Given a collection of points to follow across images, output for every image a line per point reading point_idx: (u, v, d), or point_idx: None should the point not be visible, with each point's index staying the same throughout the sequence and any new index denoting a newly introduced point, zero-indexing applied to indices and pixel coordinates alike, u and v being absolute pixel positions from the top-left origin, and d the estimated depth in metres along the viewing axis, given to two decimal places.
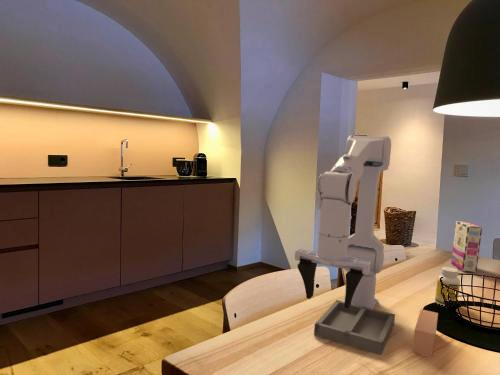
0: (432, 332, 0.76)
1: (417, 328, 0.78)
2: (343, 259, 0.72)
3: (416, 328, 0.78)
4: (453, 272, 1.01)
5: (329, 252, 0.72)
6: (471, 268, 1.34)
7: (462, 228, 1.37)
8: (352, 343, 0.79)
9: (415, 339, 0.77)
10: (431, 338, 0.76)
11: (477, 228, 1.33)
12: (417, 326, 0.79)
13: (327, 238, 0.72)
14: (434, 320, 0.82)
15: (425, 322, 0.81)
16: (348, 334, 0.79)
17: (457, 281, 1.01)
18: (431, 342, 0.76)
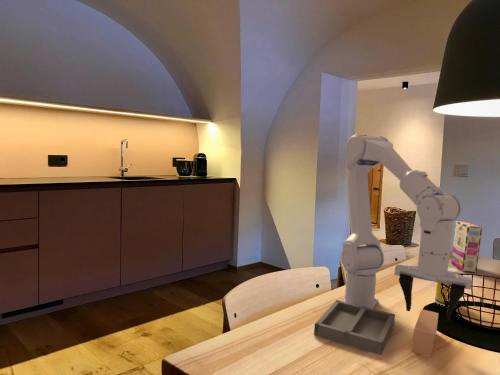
0: (431, 332, 0.76)
1: (417, 328, 0.78)
2: (446, 275, 0.78)
3: (415, 328, 0.78)
4: (453, 272, 1.01)
5: (434, 269, 0.78)
6: (471, 268, 1.34)
7: (462, 228, 1.37)
8: (352, 343, 0.79)
9: (414, 339, 0.77)
10: (430, 338, 0.76)
11: (477, 228, 1.33)
12: (417, 326, 0.79)
13: (431, 256, 0.78)
14: (434, 320, 0.82)
15: (425, 322, 0.81)
16: (348, 334, 0.79)
17: None
18: (430, 342, 0.76)
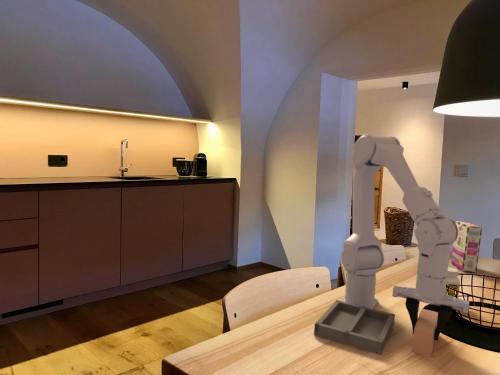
0: (432, 331, 0.76)
1: (417, 327, 0.78)
2: (443, 298, 0.79)
3: (416, 327, 0.78)
4: (453, 272, 1.01)
5: (431, 292, 0.78)
6: (471, 268, 1.34)
7: (462, 228, 1.37)
8: (352, 343, 0.79)
9: (415, 338, 0.77)
10: (431, 337, 0.76)
11: (477, 228, 1.33)
12: (417, 325, 0.79)
13: (429, 279, 0.78)
14: (434, 319, 0.82)
15: (425, 321, 0.81)
16: (348, 334, 0.79)
17: (457, 281, 1.01)
18: (431, 341, 0.76)
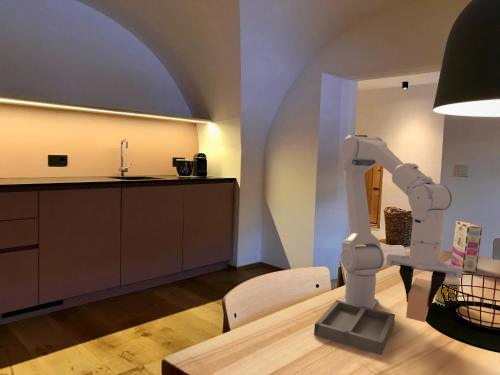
0: (426, 296, 0.76)
1: (411, 293, 0.77)
2: (437, 264, 0.78)
3: (410, 293, 0.77)
4: None
5: (425, 258, 0.78)
6: (471, 268, 1.34)
7: (462, 228, 1.37)
8: (352, 343, 0.79)
9: (409, 304, 0.77)
10: (425, 302, 0.75)
11: (477, 228, 1.33)
12: (411, 291, 0.78)
13: (423, 245, 0.78)
14: (428, 286, 0.82)
15: (419, 288, 0.80)
16: (348, 334, 0.79)
17: (457, 281, 1.01)
18: (425, 306, 0.76)
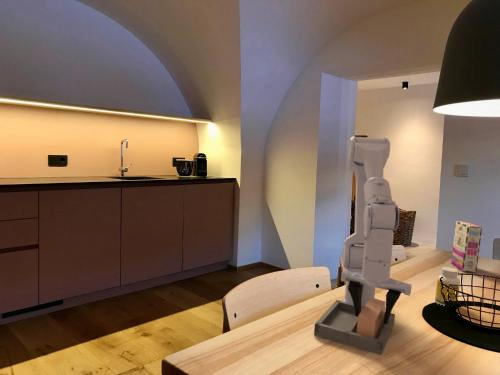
0: (374, 318, 0.79)
1: (361, 315, 0.80)
2: (387, 281, 0.81)
3: (360, 315, 0.80)
4: (453, 272, 1.01)
5: (375, 275, 0.81)
6: (471, 268, 1.34)
7: (462, 228, 1.37)
8: (352, 343, 0.79)
9: (359, 326, 0.80)
10: (373, 324, 0.78)
11: (477, 228, 1.33)
12: (361, 313, 0.81)
13: (373, 263, 0.81)
14: (379, 308, 0.84)
15: (370, 309, 0.83)
16: (348, 334, 0.79)
17: (457, 281, 1.01)
18: (373, 328, 0.78)
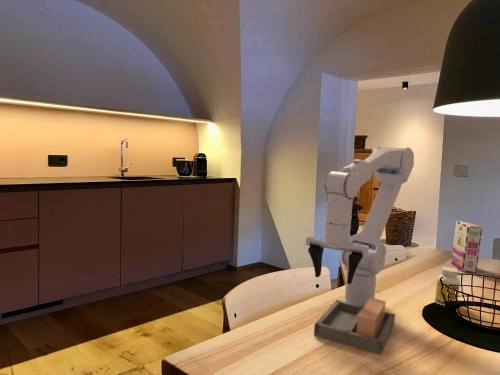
0: (374, 318, 0.79)
1: (361, 315, 0.80)
2: (346, 243, 0.88)
3: (360, 315, 0.80)
4: (453, 272, 1.01)
5: (335, 237, 0.87)
6: (471, 268, 1.34)
7: (462, 228, 1.37)
8: (352, 343, 0.79)
9: (359, 326, 0.80)
10: (373, 324, 0.78)
11: (477, 228, 1.33)
12: (361, 313, 0.81)
13: (333, 226, 0.87)
14: (379, 308, 0.84)
15: (370, 309, 0.83)
16: (348, 334, 0.79)
17: (457, 281, 1.01)
18: (373, 328, 0.78)
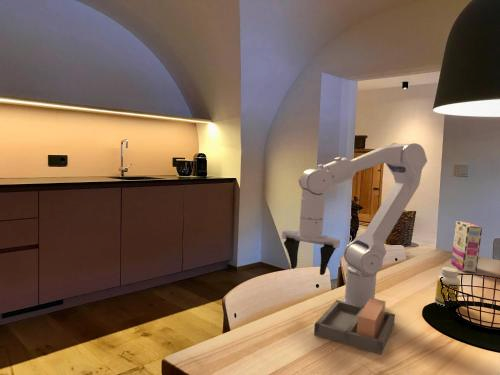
0: (374, 318, 0.79)
1: (361, 315, 0.80)
2: (319, 236, 0.93)
3: (360, 315, 0.80)
4: (453, 272, 1.01)
5: (308, 231, 0.93)
6: (471, 268, 1.34)
7: (462, 228, 1.37)
8: (352, 343, 0.79)
9: (359, 326, 0.80)
10: (373, 324, 0.78)
11: (477, 228, 1.33)
12: (361, 313, 0.81)
13: (306, 220, 0.93)
14: (379, 308, 0.84)
15: (370, 309, 0.83)
16: (348, 334, 0.79)
17: (457, 281, 1.01)
18: (373, 328, 0.78)
